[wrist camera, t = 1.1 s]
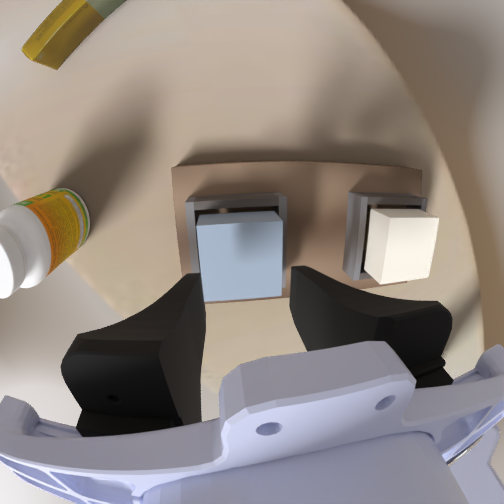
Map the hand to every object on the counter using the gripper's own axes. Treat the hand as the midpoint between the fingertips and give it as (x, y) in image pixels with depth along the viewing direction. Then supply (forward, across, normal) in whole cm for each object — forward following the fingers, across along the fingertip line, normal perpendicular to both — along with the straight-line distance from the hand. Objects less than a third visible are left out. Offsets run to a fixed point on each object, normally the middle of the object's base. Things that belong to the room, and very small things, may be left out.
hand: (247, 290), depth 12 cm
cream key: (+5, -11, 0) cm, 12 cm away
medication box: (+10, +11, -20) cm, 25 cm away
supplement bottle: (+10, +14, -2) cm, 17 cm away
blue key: (+5, 0, 0) cm, 5 cm away
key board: (+9, -6, 0) cm, 11 cm away
